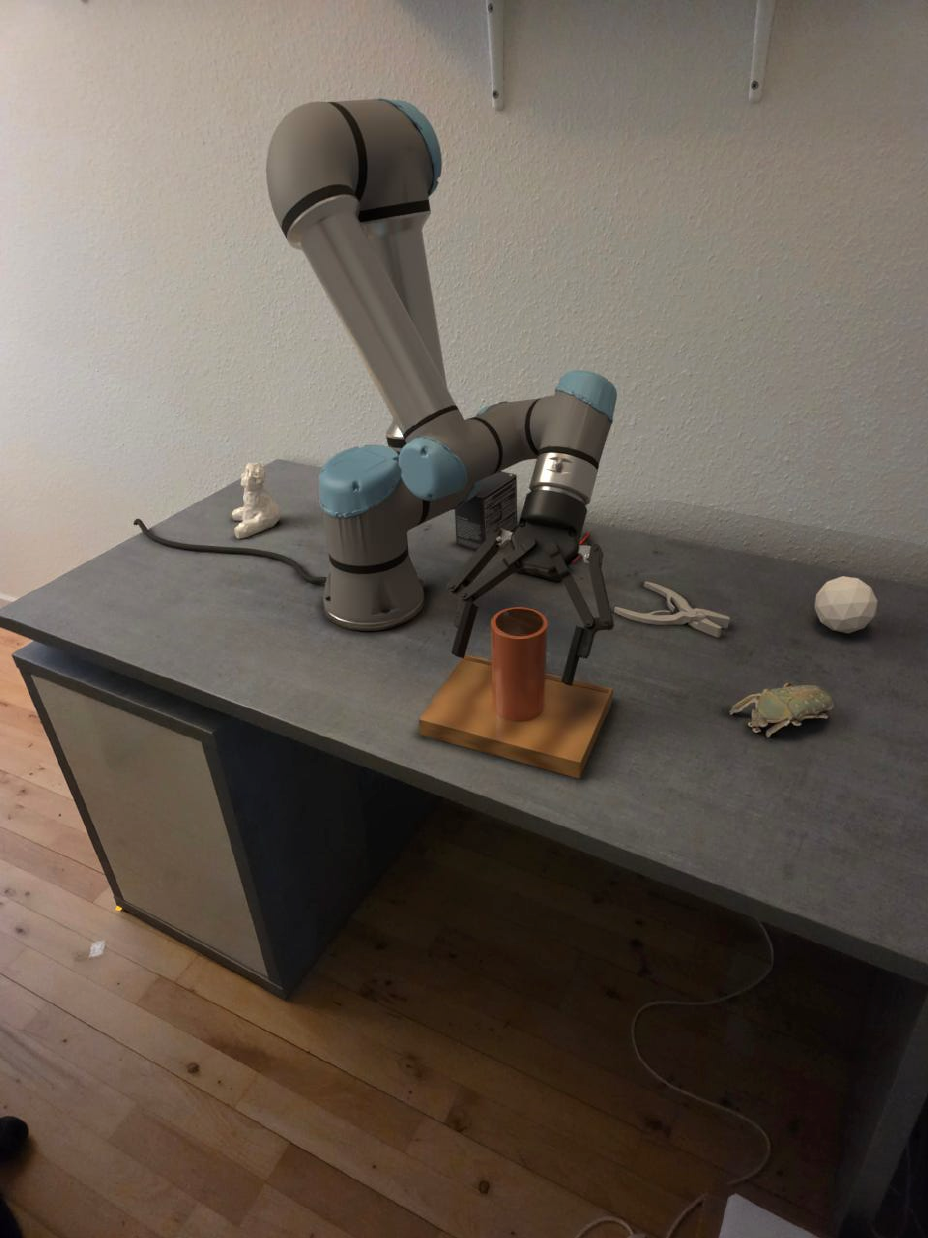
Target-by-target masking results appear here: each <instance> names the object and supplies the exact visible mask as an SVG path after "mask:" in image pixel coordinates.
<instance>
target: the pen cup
mask: <svg viewBox="0 0 928 1238" xmlns="http://www.w3.org/2000/svg"><path fill="white" fill-rule="evenodd" d="M490 648H491V649H490V650H491V651H490V653H491V655H490V656H491V660H492V706H493V709H494V711H495V712H496V713H497V714H498V715H499V716H501V717H503V718H505V719H508V720H512V721H527V720H530V719H533V718H535V717H537V716H539V715H540V714H541V713H542V711H543V710H544V707H545V687H546V673H547V656H548V655H547V654H548V651H547V650H548V619H547V618H546V616H545V615H544V614H543V613H541V612H540V611H538V610H536V609H533V608H529V607H523V606H516V607H515V606H514V607H507V608H504V609H502V610H500V611H497V612H496V613H495V614H494V615H493V617H492V618H491V621H490Z"/></svg>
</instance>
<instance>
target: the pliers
mask: <svg viewBox="0 0 928 1238" xmlns="http://www.w3.org/2000/svg"><path fill="white" fill-rule="evenodd" d="M643 588H646V589H648V590H651V591H652V592H655V593H657V594H659V595H661V596H663V597H664V598H666V605H667V607H668V608H669V610H665V609H664V610H654V611H651V612H647V613H643V612H639V611H634V610H630V609H626V608H623V607H619V606H615V607H613V613H615V614H617V615H619V616H621V617H624V618H626V619H629V620H632V621H636V622H640V623H644V624H650V625H659V626H661V625H662V626H669V625H679V626H680V625H682V626H683V625H685V624H687V625H688V626H690V627H692V628H693V629H695V630H698V631H701V632H703V633H705V634H707V635H710V636H712V637H715V638H720V637H721V635H722V629H728V628H729V623H730V619H731V618H730V616H728V615H725V614H721V613H717V612H715V611H711V610H708V609H704V608H698V607H695V608H692V606H690V604H689V602H688V600H686V599H685V598H684V597H683V596H681V595H680V594H678V593H677V592H675V591H674V590H672V589H670V588H667V587H665V586H664V585H663V586H662V585H660V584H657V583H654V582H650V581H644V582H643ZM673 604H674V605H673ZM675 606H676V607H675ZM675 608H677V609H678V610H679V611H678V612H676V613H674V612H675ZM671 612H673V614H671Z"/></svg>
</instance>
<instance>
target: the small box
mask: <svg viewBox="0 0 928 1238" xmlns="http://www.w3.org/2000/svg"><path fill="white" fill-rule="evenodd" d="M454 521H455V541H456V545H457V546H461V547H464V548H466V549H470V550H473V551H475V552H476V551H477V550H478V548H479V547H480V546H481V545H482V544H483V543H484V541H485V540H486V538H487V535H488V533H489V530H490V528H491V526H492V525H495V524H496V525H498V526H499V527H500V528H501V529H504V530H507V531H510V532H514V531H515V530H516V529H517V527H518V524H519V523H518V475H517V474H516V473H511V472H507V471H503V470H502V471H500V472H498V473H496V474H494V475H491V476H488V477H486V478H484V482H483V484H482V486H481V488H480V490H479V491H478V492H477V494H476V495H475V496H474V497H473V498H471V499H470V500H468V501H466V502H465V503H464V504H462V505H461V506H460V507H458V508H456V509H454Z"/></svg>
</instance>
